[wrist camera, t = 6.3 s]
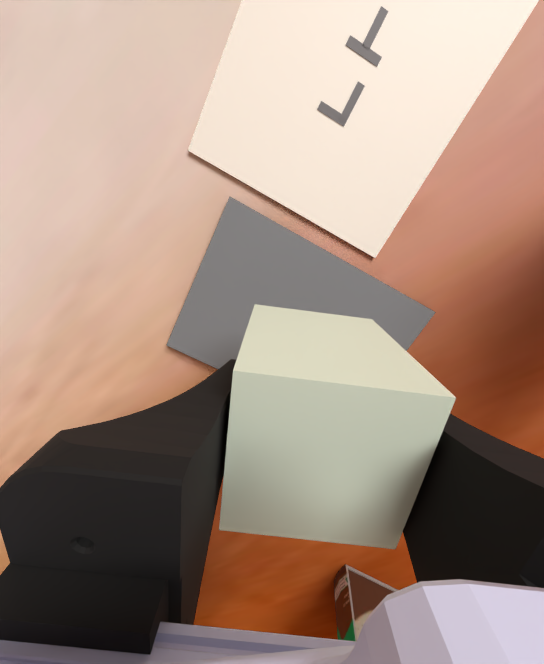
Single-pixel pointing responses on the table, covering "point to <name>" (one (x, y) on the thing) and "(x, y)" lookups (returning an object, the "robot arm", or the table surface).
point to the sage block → (327, 430)
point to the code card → (349, 101)
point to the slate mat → (278, 288)
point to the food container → (356, 600)
